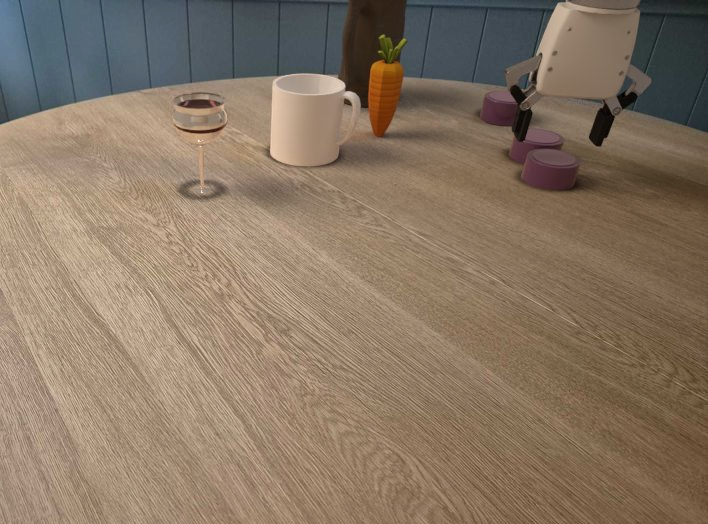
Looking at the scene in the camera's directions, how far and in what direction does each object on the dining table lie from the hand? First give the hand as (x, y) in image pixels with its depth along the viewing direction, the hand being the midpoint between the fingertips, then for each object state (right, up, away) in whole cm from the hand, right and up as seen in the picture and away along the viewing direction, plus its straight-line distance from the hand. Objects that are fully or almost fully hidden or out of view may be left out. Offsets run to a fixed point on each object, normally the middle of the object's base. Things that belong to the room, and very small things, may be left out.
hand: (556, 140), depth 86 cm
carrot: (-20, +5, +17) cm, 27 cm away
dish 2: (+1, 0, +10) cm, 10 cm away
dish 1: (+2, +11, +24) cm, 27 cm away
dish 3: (0, -5, +4) cm, 6 cm away
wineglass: (-46, -7, 0) cm, 47 cm away
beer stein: (-20, +16, +31) cm, 40 cm away
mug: (-31, +1, +10) cm, 33 cm away
